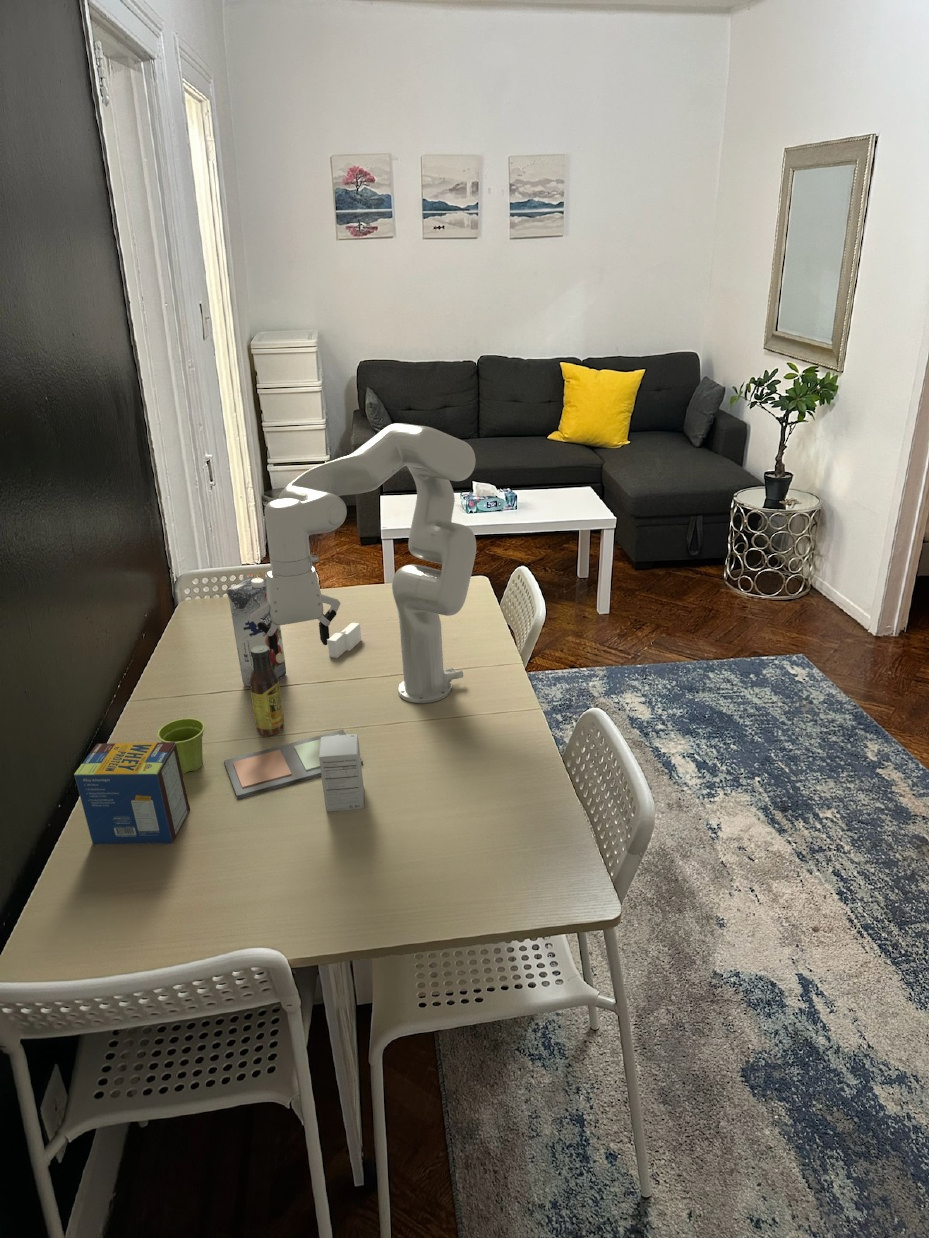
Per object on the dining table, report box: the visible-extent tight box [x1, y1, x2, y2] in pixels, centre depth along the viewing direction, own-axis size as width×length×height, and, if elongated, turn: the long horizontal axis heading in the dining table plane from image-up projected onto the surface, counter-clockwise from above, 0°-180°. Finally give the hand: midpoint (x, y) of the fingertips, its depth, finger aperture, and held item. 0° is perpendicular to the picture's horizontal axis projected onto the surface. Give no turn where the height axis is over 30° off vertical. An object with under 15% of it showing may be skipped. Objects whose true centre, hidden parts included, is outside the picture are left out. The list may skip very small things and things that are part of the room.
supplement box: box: [319, 733, 365, 812], centre depth 170 cm, size 7×7×13 cm
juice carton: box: [226, 576, 287, 688], centre depth 214 cm, size 9×10×27 cm
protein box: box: [73, 742, 191, 845], centre depth 164 cm, size 10×15×16 cm
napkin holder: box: [327, 622, 362, 659], centre depth 233 cm, size 15×11×6 cm
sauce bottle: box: [250, 645, 285, 736], centre depth 194 cm, size 7×6×20 cm
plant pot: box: [157, 717, 206, 774], centre depth 184 cm, size 9×9×9 cm
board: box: [223, 729, 364, 800], centre depth 184 cm, size 26×14×1 cm, turn 114°
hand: (299, 647), depth 174 cm, fingers open, 9 cm apart
